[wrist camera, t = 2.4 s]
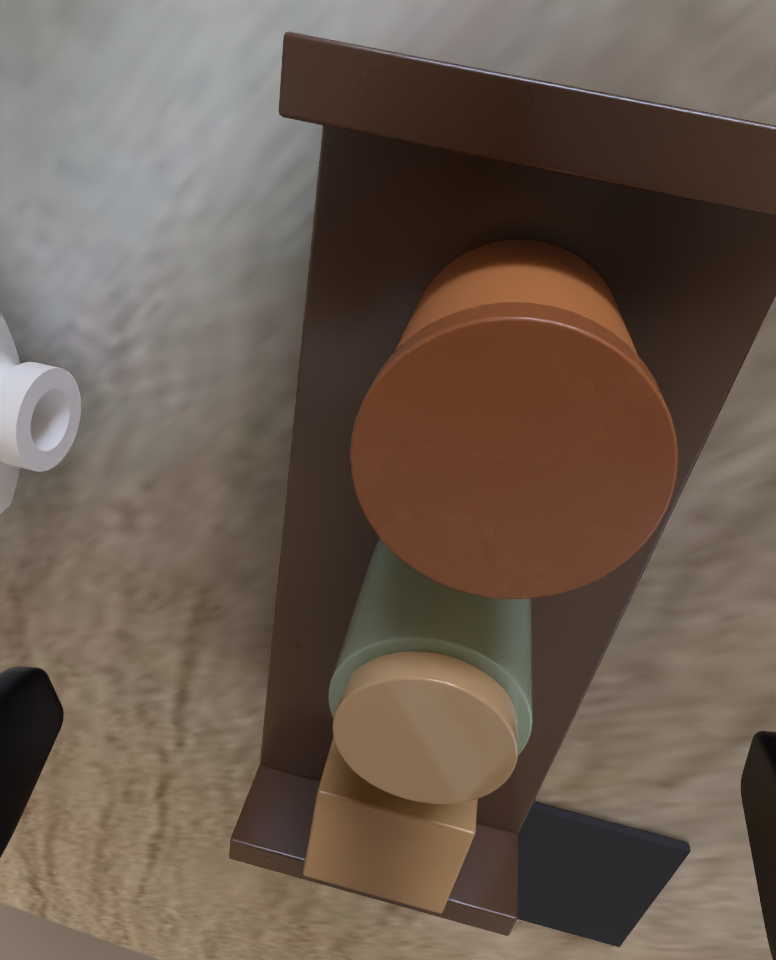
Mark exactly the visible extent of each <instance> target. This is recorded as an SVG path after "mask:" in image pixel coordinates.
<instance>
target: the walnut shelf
mask: <svg viewBox="0 0 776 960" xmlns="http://www.w3.org/2000/svg"><path fill="white" fill-rule="evenodd" d="M279 114H280V115H281V116H282V117H285V118H290V119H295V120H300V121H305V122H310V123H315V124H320V125H323V130H322V140H321V150H320V161H319V171H318V181H317V191H316V201H315V211H314V221H313V231H312V242H311V252H310V262H309V272H308V282H307V292H306V302H305V312H304V323H303V333H302V343H301V353H300V363H299V373H298V383H297V393H296V404H295V414H294V424H293V434H292V444H291V454H290V464H289V474H288V485H287V495H286V505H285V515H284V525H283V535H282V545H281V555H280V566H279V576H278V586H277V596H276V606H275V616H274V626H273V636H272V647H271V657H270V667H269V677H268V687H267V697H266V707H265V717H264V727H263V738H262V748H261V758H260V765H259V768H258V770H257V773H256V775H255V778H254V780H253V783H252V786H251V788H250V791H249V793H248V796H247V798H246V801H245V803H244V806H243V809H242V811H241V814H240V816H239V819H238V821H237V824H236V826H235V829H234V832H233V834H232V837H231V839H230V853H229V858H230V859H233V860H237V861H240V862H244V863H247V864H251V865H255V866H258V867H262V868H265V869H269V870H273V871H276V872H280V873H283V874H287V875H291V876H294V877H298V878H301V879H305V880H308V881H312V882H316V883H319V884H323V885H326V886H330V887H334V888H337V889H341V890H344V891H348V892H352V893H355V894H359V895H362V896H366V897H370V898H373V899H377V900H380V901H384V902H388V903H391V904H395V905H398V906H402V907H406V908H409V909H413V910H416V911H420V912H424V913H427V914H431V915H434V916H438V917H442V918H445V919H449V920H452V921H456V922H459V923H463V924H467V925H470V926H474V927H477V928H481V929H485V930H488V931H492V932H495V933H499V934H503V935H506V936H507V935H509V934H510V932H511V930H512V929H513V927H514V925H515V923H516V921H517V919H518V832H519V831H520V829H521V827H522V825H523V823H524V821H525V819H526V816H527V814H528V812H529V810H530V808H531V806H532V804H533V802H534V800H535V798H536V796H537V793H538V791H539V789H540V787H541V785H542V783H543V781H544V779H545V777H546V775H547V773H548V770H549V768H550V766H551V764H552V762H553V760H554V758H555V756H556V754H557V752H558V749H559V747H560V745H561V743H562V741H563V739H564V737H565V735H566V733H567V731H568V729H569V726H570V724H571V722H572V720H573V718H574V716H575V714H576V712H577V710H578V708H579V706H580V703H581V701H582V699H583V697H584V695H585V693H586V691H587V689H588V687H589V685H590V683H591V680H592V678H593V676H594V674H595V672H596V670H597V668H598V666H599V664H600V662H601V660H602V657H603V655H604V653H605V651H606V649H607V647H608V645H609V643H610V641H611V639H612V637H613V634H614V632H615V630H616V628H617V626H618V624H619V622H620V620H621V618H622V616H623V614H624V611H625V609H626V607H627V605H628V603H629V601H630V599H631V597H632V595H633V593H634V590H635V588H636V586H637V584H638V582H639V580H640V578H641V576H642V574H643V572H644V570H645V567H646V565H647V563H648V561H649V559H650V557H651V555H652V553H653V551H654V549H655V547H656V544H657V542H658V540H659V538H660V536H661V534H662V532H663V530H664V528H665V526H666V524H667V521H668V519H669V517H670V515H671V513H672V511H673V509H674V507H675V505H676V503H677V501H678V498H679V496H680V494H681V492H682V490H683V488H684V486H685V484H686V482H687V480H688V478H689V475H690V473H691V471H692V469H693V467H694V465H695V463H696V461H697V459H698V457H699V454H700V452H701V450H702V448H703V446H704V444H705V442H706V440H707V438H708V436H709V434H710V431H711V429H712V427H713V425H714V423H715V421H716V419H717V417H718V415H719V413H720V411H721V408H722V406H723V404H724V402H725V400H726V398H727V396H728V394H729V392H730V390H731V388H732V385H733V383H734V381H735V379H736V377H737V375H738V373H739V371H740V369H741V367H742V365H743V362H744V360H745V358H746V356H747V354H748V352H749V350H750V348H751V346H752V344H753V342H754V339H755V337H756V335H757V333H758V331H759V329H760V327H761V325H762V323H763V321H764V318H765V316H766V314H767V312H768V310H769V308H770V306H771V304H772V302H773V300H774V298H775V295H776V126H774V125H769V124H764V123H758V122H753V121H748V120H743V119H738V118H733V117H727V116H722V115H717V114H712V113H707V112H702V111H696V110H691V109H686V108H681V107H676V106H670V105H665V104H660V103H655V102H650V101H645V100H639V99H634V98H629V97H624V96H619V95H614V94H608V93H603V92H598V91H593V90H588V89H582V88H577V87H572V86H567V85H562V84H557V83H551V82H546V81H541V80H536V79H531V78H526V77H520V76H515V75H510V74H505V73H500V72H494V71H489V70H484V69H479V68H474V67H469V66H463V65H458V64H453V63H448V62H443V61H437V60H432V59H427V58H422V57H417V56H412V55H406V54H401V53H396V52H391V51H386V50H381V49H375V48H370V47H365V46H360V45H355V44H349V43H344V42H339V41H334V40H329V39H324V38H318V37H313V36H308V35H303V34H298V33H293V32H286V33H285V35H284V40H283V55H282V70H281V85H280V100H279ZM512 239H528V240H535V241H542V242H546V243H549V244H553V245H557V246H559V247H561V248H563V249H566V250H568V251H570V252H572V253H573V254H575V255H577V256H578V257H580V258H581V259H583V260H584V261H585V262H587V263H588V264H589V265H590V266H591V267H592V268H594V269H595V271H596V272H597V273H598V274H599V275H600V276H601V277H602V279H603V280H604V281H605V283H606V284H607V286H608V287H609V289H610V291H611V293H612V295H613V297H614V299H615V301H616V303H617V306H618V308H619V311H620V313H621V316H622V318H623V320H624V323H625V325H626V328H627V330H628V333H629V335H630V337H631V340H632V342H633V345H634V347H635V349H636V352H637V354H638V356H639V357H640V359H641V360H642V361H643V362H644V363H645V365H646V366H647V368H648V369H649V371H650V373H651V374H652V376H653V377H654V379H655V381H656V383H657V385H658V387H659V390H660V392H661V394H662V396H663V398H664V401H665V403H666V405H667V408H668V410H669V412H670V414H671V417H672V421H673V425H674V428H675V432H676V436H677V445H678V473H677V479H676V483H675V488H674V492H673V495H672V498H671V501H670V503H669V506H668V508H667V511H666V513H665V515H664V516H663V518H662V520H661V522H660V523H659V525H658V527H657V529H656V530H655V531H654V533H653V534H652V535H651V537H650V538H649V539H648V541H647V542H646V543H645V544H644V545H643V546H642V547H641V548H640V549H639V550H638V551H637V552H636V553H635V554H634V555H633V556H632V557H631V558H630V559H629V560H627V561H626V562H625V563H624V564H622V565H621V566H620V567H618V568H617V569H616V570H614V571H612V572H611V573H609V574H607V575H606V576H604V577H602V578H601V579H599V580H596V581H594V582H592V583H590V584H588V585H585V586H583V587H580V588H577V589H574V590H571V591H568V592H565V593H561V594H556V595H552V596H547V597H540V598H532V687H533V724H532V731H531V735H530V738H529V740H528V742H527V744H526V746H525V747H524V749H523V750H522V752H521V753H520V754H519V755H518V760H517V763H516V766H515V769H514V770H513V772H512V774H511V776H510V777H509V778H508V780H507V781H506V782H505V783H504V784H503V785H502V786H500V787H499V788H498V789H496V790H495V791H493V792H492V793H490V794H488V795H486V796H483V797H481V798H478V803H477V818H476V833H475V836H474V838H473V841H472V843H471V845H470V848H469V850H468V853H467V855H466V857H465V860H464V862H463V865H462V867H461V869H460V872H459V874H458V877H457V879H456V881H455V884H454V886H453V889H452V891H451V893H450V896H449V898H448V901H447V903H446V905H445V908H444V910H443V912H442V913H437V912H433V911H429V910H426V909H422V908H419V907H415V906H411V905H408V904H404V903H401V902H397V901H393V900H390V899H386V898H383V897H379V896H375V895H372V894H368V893H365V892H361V891H357V890H354V889H350V888H347V887H343V886H339V885H336V884H332V883H329V882H325V881H321V880H318V879H314V878H311V877H307V876H304V875H303V869H304V864H305V858H306V852H307V847H308V841H309V836H310V830H311V825H312V819H313V814H314V808H315V803H316V797H317V791H318V788H319V785H320V781H321V778H322V774H323V771H324V768H325V764H326V761H327V757H328V754H329V751H330V747H331V744H332V740H333V730H332V725H333V717H332V714H331V711H330V707H329V699H328V693H329V685H330V682H331V678H332V675H333V672H334V669H335V666H336V663H337V660H338V657H339V654H340V651H341V648H342V645H343V642H344V638H345V635H346V632H347V629H348V626H349V623H350V620H351V617H352V614H353V611H354V608H355V605H356V602H357V599H358V596H359V593H360V590H361V587H362V583H363V580H364V577H365V574H366V571H367V568H368V565H369V562H370V559H371V556H372V553H373V550H374V548H375V546H376V544H377V542H378V541H379V539H380V538H379V536H378V535H377V533H376V532H375V531H374V529H373V528H372V526H371V525H370V523H369V522H368V520H367V518H366V516H365V514H364V512H363V510H362V508H361V506H360V503H359V500H358V497H357V495H356V492H355V488H354V484H353V479H352V474H351V462H350V450H351V437H352V433H353V429H354V424H355V420H356V417H357V415H358V412H359V410H360V407H361V405H362V402H363V400H364V398H365V396H366V394H367V392H368V390H369V389H370V387H371V385H372V383H373V381H374V379H375V378H376V376H377V374H378V373H379V371H380V369H381V368H382V367H383V365H384V364H385V363H386V361H387V360H388V359H389V358H390V356H391V355H392V354H393V353H394V352H395V350H396V348H397V346H398V344H399V342H400V340H401V338H402V335H403V333H404V331H405V329H406V327H407V325H408V323H409V321H410V319H411V317H412V315H413V313H414V311H415V309H416V307H417V305H418V303H419V301H420V299H421V297H422V296H423V294H424V292H425V290H426V289H427V287H428V286H429V285H430V283H431V282H432V281H433V279H434V278H435V277H436V276H437V275H438V274H439V273H440V272H441V271H442V270H443V269H444V268H445V267H446V266H447V265H449V264H450V263H451V262H453V261H454V260H455V259H456V258H458V257H460V256H462V255H463V254H465V253H467V252H468V251H471V250H473V249H475V248H478V247H480V246H483V245H486V244H490V243H493V242H497V241H504V240H512Z"/></svg>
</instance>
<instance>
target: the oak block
mask: <svg viewBox="0 0 776 960" xmlns="http://www.w3.org/2000/svg"><path fill="white" fill-rule="evenodd" d="M477 803H478V799H475V800H471V801H467V802H462V803H453V804H433V803H424V802H417V801H413V800H408V799H405V798H401V797H398V796H395V795H393V794H390V793H388V792H385V791H383V790H381V789H379V788H377V787H375V786H374V785H372V784H370V783H369V782H367V781H366V780H364V779H363V778H362V777H360V776H359V775H358V774H357V773H356V772H354V771H353V770H352V769H351V768H350V767H349V765H348V764H347V763H346V762H345V761H344V759H343V758H342V756H341V755H340V753H339V751H338V749H337V747H336V744H335V741H334V738H333V740H332V744H331V747H330V751H329V754H328V757H327V761H326V764H325V768H324V771H323V774H322V778H321V781H320V785H319V788H318V791H317V797H316V803H315V808H314V814H313V819H312V825H311V830H310V836H309V841H308V847H307V852H306V858H305V864H304V869H303V875H304V876H307V877H311V878H314V879H318V880H321V881H325V882H329V883H332V884H336V885H339V886H343V887H347V888H350V889H354V890H357V891H361V892H365V893H368V894H372V895H375V896H379V897H383V898H386V899H390V900H393V901H397V902H401V903H404V904H408V905H411V906H415V907H419V908H422V909H426V910H429V911H433V912H437V913H442V912H443V910H444V908H445V905H446V903H447V901H448V898H449V896H450V893H451V891H452V889H453V886H454V884H455V881H456V879H457V877H458V874H459V872H460V869H461V867H462V865H463V862H464V860H465V857H466V855H467V853H468V850H469V848H470V845H471V843H472V841H473V838H474V836H475V833H476V818H477Z"/></svg>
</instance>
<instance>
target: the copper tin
mask: <svg viewBox="0 0 776 960" xmlns="http://www.w3.org/2000/svg"><path fill="white" fill-rule="evenodd" d="M350 462H351V474H352V479H353V484H354V488H355V492H356V495H357V497H358V500H359V503H360V506H361V508H362V510H363V512H364V514H365V516H366V518H367V520H368V522H369V523H370V525H371V526H372V528H373V529H374V531H375V532H376V533H377V535H378V536H379V538H380V539H381V540H382V541H383V542H384V543H385V544H386V545H387V547H388V548H389V549H390V550H391V551H392V552H393V553H394V554H396V555H397V556H398V557H399V558H400V559H401V560H402V561H404V562H405V563H406V564H408V565H409V566H410V567H412V568H413V569H415V570H416V571H418V572H419V573H421V574H423V575H425V576H426V577H428V578H430V579H432V580H434V581H436V582H438V583H440V584H443V585H445V586H448V587H450V588H452V589H456V590H459V591H462V592H466V593H469V594H474V595H479V596H484V597H490V598H501V599H531V598H540V597H547V596H552V595H556V594H561V593H565V592H568V591H571V590H574V589H577V588H580V587H583V586H585V585H588V584H590V583H592V582H594V581H596V580H599V579H601V578H602V577H604V576H606V575H607V574H609V573H611V572H612V571H614V570H616V569H617V568H618V567H620V566H621V565H622V564H624V563H625V562H626V561H627V560H629V559H630V558H631V557H632V556H633V555H634V554H635V553H636V552H637V551H638V550H639V549H640V548H641V547H642V546H643V545H644V544H645V543H646V542H647V541H648V539H649V538H650V537H651V535H652V534H653V533H654V531H655V530H656V529H657V527H658V525H659V523H660V522H661V520H662V518H663V516H664V515H665V513H666V511H667V508H668V506H669V503H670V501H671V498H672V495H673V492H674V488H675V483H676V479H677V473H678V445H677V436H676V432H675V428H674V425H673V421H672V417H671V414H670V412H669V410H668V408H667V405H666V403H665V401H664V398H663V396H662V394H661V392H660V390H659V387H658V385H657V383H656V381H655V379H654V377H653V376H652V374H651V373H650V371H649V369H648V368H647V366H646V365H645V363H644V362H643V361H642V360H641V359H640V357H639V356H638V354H637V352H636V349H635V347H634V345H633V342H632V340H631V337H630V335H629V333H628V330H627V328H626V325H625V323H624V320H623V318H622V316H621V313H620V311H619V308H618V306H617V303H616V301H615V299H614V297H613V295H612V293H611V291H610V289H609V287H608V286H607V284H606V283H605V281H604V280H603V279H602V277H601V276H600V275H599V274H598V273H597V272H596V271H595V269H594V268H592V267H591V266H590V265H589V264H588V263H587V262H585V261H584V260H583V259H581V258H580V257H578V256H577V255H575V254H573V253H572V252H570V251H568V250H566V249H563V248H561V247H559V246H557V245H553V244H549V243H546V242H542V241H535V240H528V239H512V240H504V241H497V242H493V243H490V244H486V245H483V246H480V247H478V248H475V249H473V250H471V251H468V252H467V253H465V254H463V255H462V256H460V257H458V258H456V259H455V260H454V261H453V262H451V263H450V264H449V265H447V266H446V267H445V268H444V269H443V270H442V271H441V272H440V273H439V274H438V275H437V276H436V277H435V278H434V279H433V281H432V282H431V283H430V285H429V286H428V287H427V289H426V290H425V292H424V294H423V296H422V297H421V299H420V301H419V303H418V305H417V307H416V309H415V311H414V313H413V315H412V317H411V319H410V321H409V323H408V325H407V327H406V329H405V331H404V333H403V335H402V338H401V340H400V342H399V344H398V346H397V348H396V350H395V352H394V353H393V354H392V355H391V356H390V358H389V359H388V360H387V361H386V363H385V364H384V365H383V367H382V368H381V369H380V371H379V373H378V374H377V376H376V378H375V379H374V381H373V383H372V385H371V387H370V389H369V390H368V392H367V394H366V396H365V398H364V400H363V402H362V405H361V407H360V410H359V412H358V415H357V417H356V420H355V424H354V429H353V433H352V437H351V450H350Z"/></svg>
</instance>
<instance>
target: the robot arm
mask: <svg viewBox="0 0 776 960" xmlns="http://www.w3.org/2000/svg"><path fill="white" fill-rule="evenodd" d="M63 715H64V713H63V707H62V705H61V703H60V700H59V698H58V696H57V694H56V692H55V690H54V687H53V685H52V683H51V681H50V679H49V676H48V675H47V673H46V672H45V671H44V670H42V669H40V668H33V667H22V666H17V667H12V668H9V669H7V670H5V671H4V672H2V673H0V857H1V856H2V854H3V852H4V850H5V848H6V846H7V844H8V842H9V841H10V839H11V837H12V835H13V833H14V831H15V829H16V826H17V824H18V822H19V820H20V818H21V816H22V814H23V811H24V809H25V807H26V805H27V803H28V800H29V798H30V796H31V794H32V791H33V789H34V787H35V785H36V782H37V780H38V778H39V776H40V773H41V771H42V769H43V767H44V765H45V762H46V760H47V758H48V756H49V753H50V751H51V749H52V747H53V744H54V742H55V740H56V738H57V736H58V733H59V731H60V729H61V726H62V722H63ZM741 797H742V803H743V808H744V814H745V819H746V825H747V830H748V836H749V841H750V847H751V852H752V858H753V863H754V869H755V874H756V880H757V885H758V891H759V896H760V902H761V907H762V913H763V918H764V923H765V928H766V933H767V938H768V943H769V947H770V951H771V955H772V958H773V960H776V732H767V731H760V732H758V733H756V734H755V735H754V737H753V739H752V743H751V746H750V749H749V753H748V756H747V760H746V763H745V767H744V770H743V774H742V778H741Z"/></svg>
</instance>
